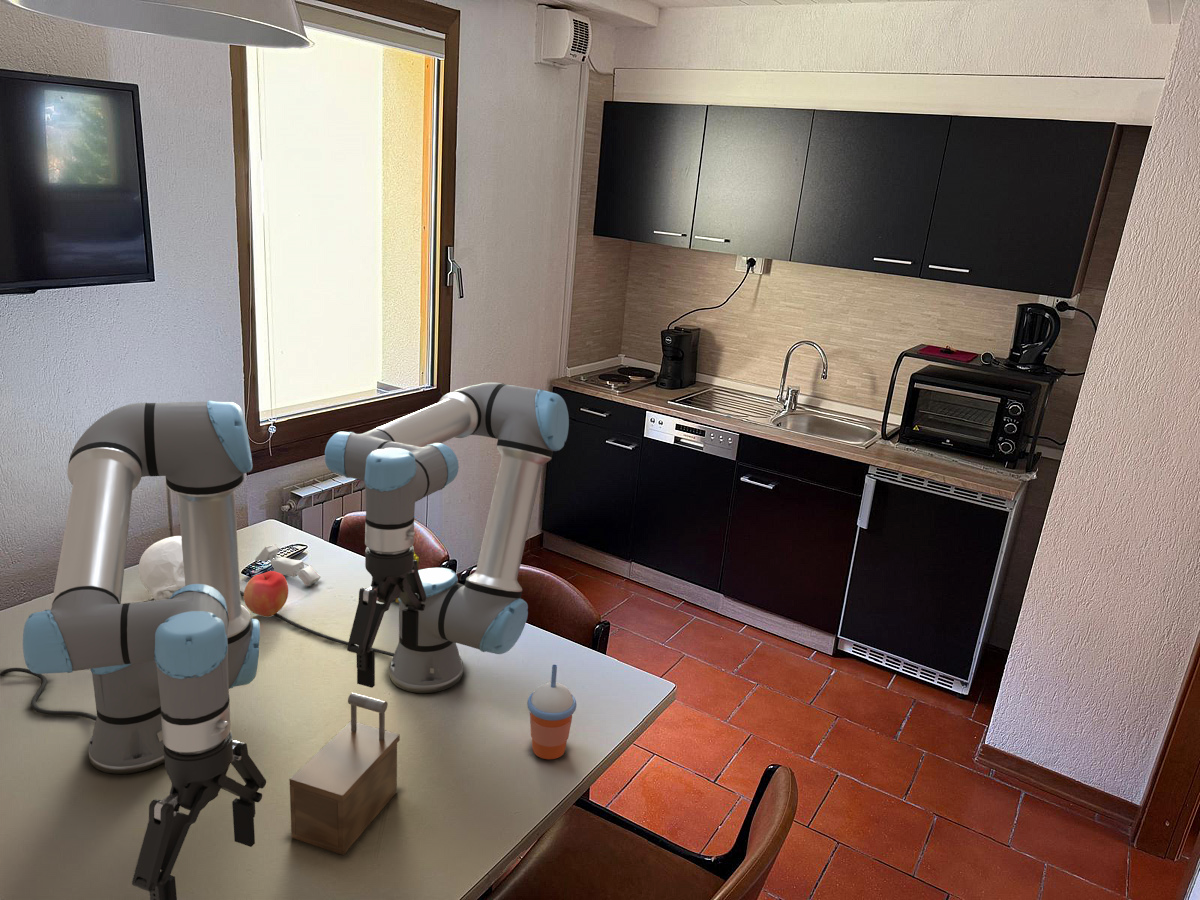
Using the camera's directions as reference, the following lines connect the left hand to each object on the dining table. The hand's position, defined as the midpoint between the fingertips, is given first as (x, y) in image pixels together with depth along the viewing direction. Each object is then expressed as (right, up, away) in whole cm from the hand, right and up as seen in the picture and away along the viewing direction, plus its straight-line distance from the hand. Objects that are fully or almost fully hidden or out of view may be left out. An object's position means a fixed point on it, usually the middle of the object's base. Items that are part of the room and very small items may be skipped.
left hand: (208, 878), depth 110 cm
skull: (-49, +19, +94) cm, 108 cm away
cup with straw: (+41, -2, +52) cm, 66 cm away
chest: (+8, -5, +32) cm, 33 cm away
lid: (+9, +4, +29) cm, 31 cm away
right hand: (+15, +20, +32) cm, 40 cm away
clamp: (-30, +23, +111) cm, 117 cm away
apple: (-28, +16, +91) cm, 97 cm away
